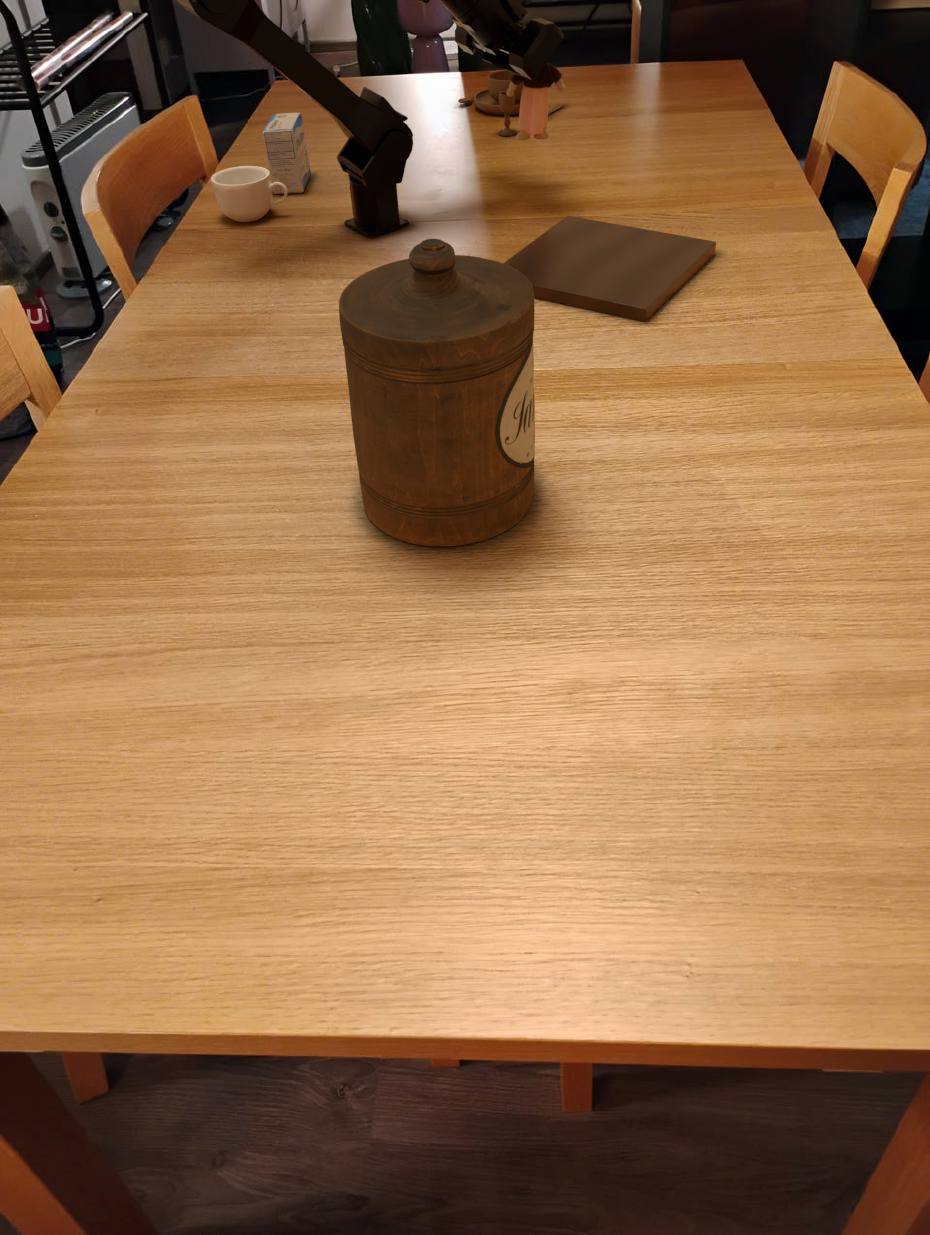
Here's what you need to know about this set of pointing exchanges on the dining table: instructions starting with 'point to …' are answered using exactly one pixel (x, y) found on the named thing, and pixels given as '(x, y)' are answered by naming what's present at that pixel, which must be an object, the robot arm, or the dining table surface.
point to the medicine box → (287, 152)
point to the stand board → (610, 266)
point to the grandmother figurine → (534, 104)
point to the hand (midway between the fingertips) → (545, 81)
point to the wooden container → (442, 394)
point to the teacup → (245, 192)
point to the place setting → (500, 99)
